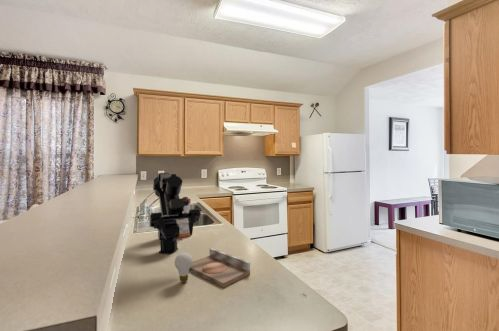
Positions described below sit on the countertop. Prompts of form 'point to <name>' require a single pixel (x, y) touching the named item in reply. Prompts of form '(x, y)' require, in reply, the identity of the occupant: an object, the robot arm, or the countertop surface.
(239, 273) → the board
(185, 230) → the cracker box
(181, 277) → the light bulb
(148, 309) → the countertop surface
